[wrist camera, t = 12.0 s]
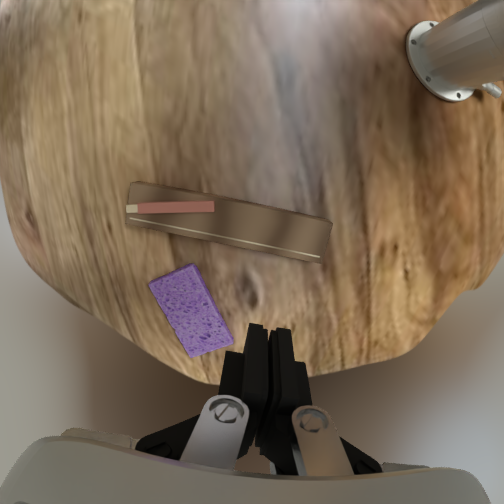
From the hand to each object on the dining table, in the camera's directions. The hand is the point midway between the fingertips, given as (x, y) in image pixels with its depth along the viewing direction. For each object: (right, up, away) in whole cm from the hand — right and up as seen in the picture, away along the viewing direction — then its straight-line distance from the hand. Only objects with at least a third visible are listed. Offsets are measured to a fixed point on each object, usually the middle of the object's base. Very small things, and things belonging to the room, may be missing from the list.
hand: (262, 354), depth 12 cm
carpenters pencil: (-9, +9, +22) cm, 26 cm away
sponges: (-9, -4, +29) cm, 31 cm away
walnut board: (-3, +8, +25) cm, 26 cm away
